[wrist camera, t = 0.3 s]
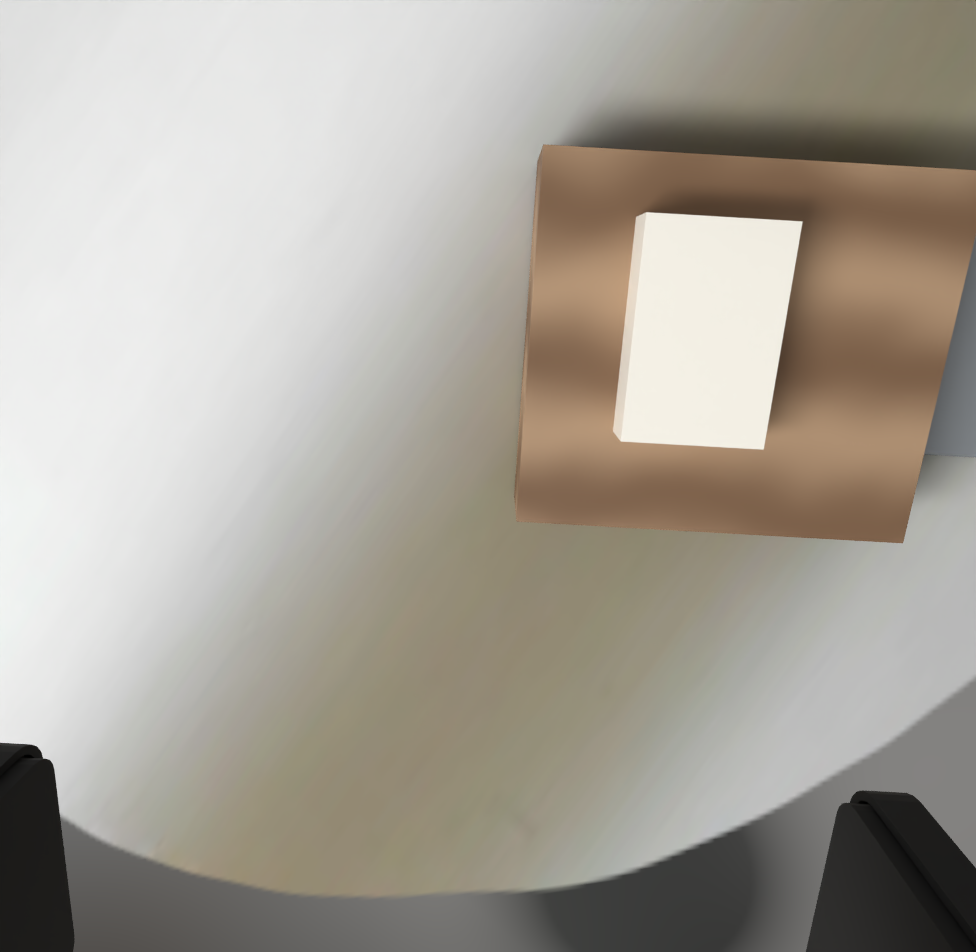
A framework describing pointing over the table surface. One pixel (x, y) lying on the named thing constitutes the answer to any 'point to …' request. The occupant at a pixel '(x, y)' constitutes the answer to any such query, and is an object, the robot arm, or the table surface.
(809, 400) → the board
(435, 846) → the table surface
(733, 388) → the cream white rectangular block
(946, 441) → the mat
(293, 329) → the table surface
